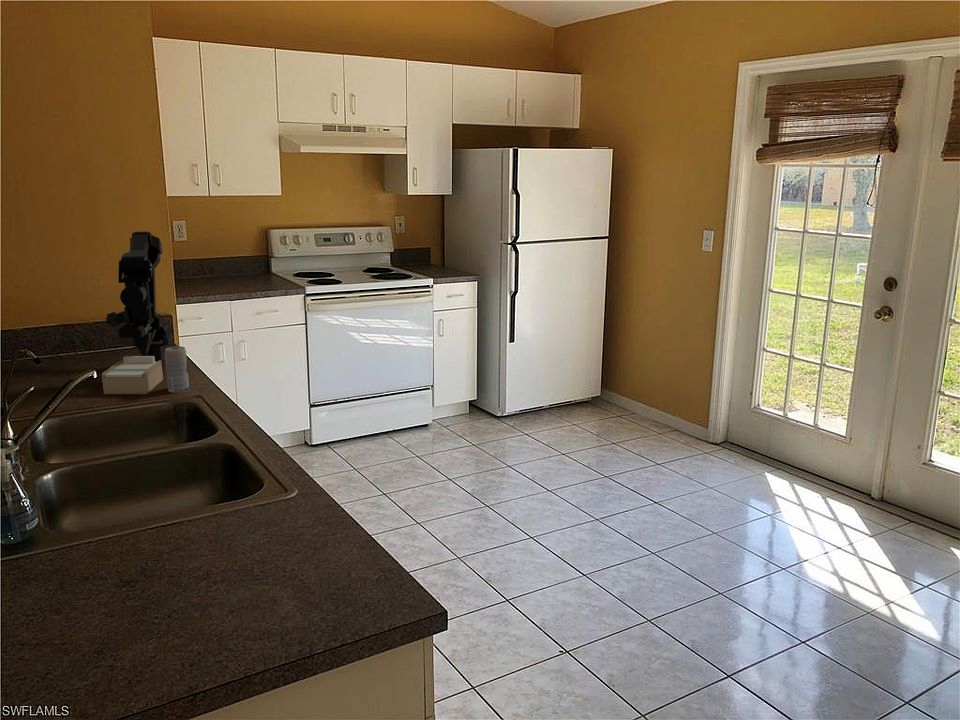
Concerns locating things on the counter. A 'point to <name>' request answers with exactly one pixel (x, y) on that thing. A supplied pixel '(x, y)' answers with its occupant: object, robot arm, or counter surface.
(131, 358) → the lid
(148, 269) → the robot arm
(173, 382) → the energy drink
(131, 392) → the mailer box
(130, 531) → the counter surface
